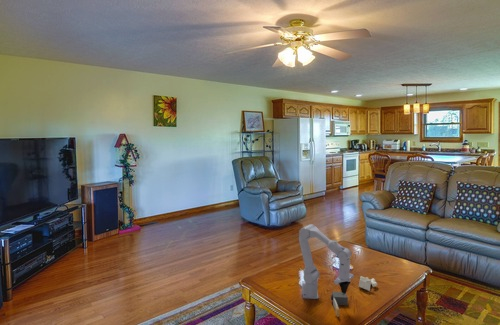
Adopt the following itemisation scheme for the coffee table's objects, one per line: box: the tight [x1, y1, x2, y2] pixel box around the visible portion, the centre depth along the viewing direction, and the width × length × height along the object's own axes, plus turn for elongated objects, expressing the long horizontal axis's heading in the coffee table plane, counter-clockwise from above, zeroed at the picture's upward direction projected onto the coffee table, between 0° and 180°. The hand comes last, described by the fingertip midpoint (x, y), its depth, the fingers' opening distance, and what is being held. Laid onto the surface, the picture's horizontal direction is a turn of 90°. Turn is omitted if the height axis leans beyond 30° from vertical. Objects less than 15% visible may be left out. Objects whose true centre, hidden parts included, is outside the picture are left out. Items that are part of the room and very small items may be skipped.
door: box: [332, 297, 340, 318], centre depth 170 cm, size 12×1×5 cm, turn 177°
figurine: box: [358, 275, 378, 292], centre depth 196 cm, size 7×9×15 cm
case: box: [330, 291, 349, 306], centre depth 179 cm, size 9×6×5 cm, turn 84°
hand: (343, 292), depth 172 cm, fingers closed
